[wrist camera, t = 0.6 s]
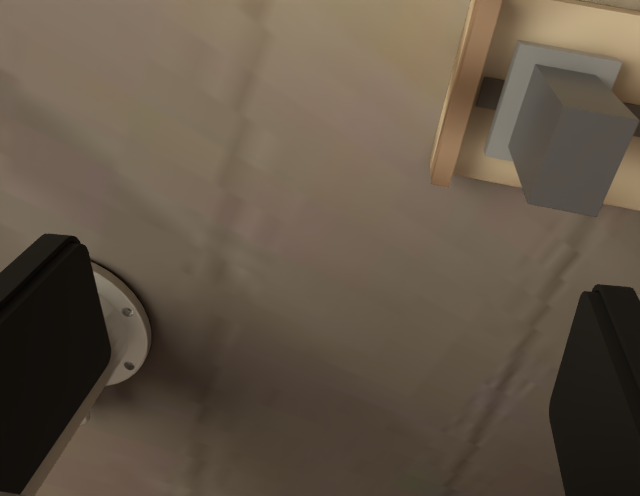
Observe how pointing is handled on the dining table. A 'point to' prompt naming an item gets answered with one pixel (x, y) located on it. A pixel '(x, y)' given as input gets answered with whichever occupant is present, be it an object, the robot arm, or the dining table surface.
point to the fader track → (491, 69)
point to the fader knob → (561, 126)
